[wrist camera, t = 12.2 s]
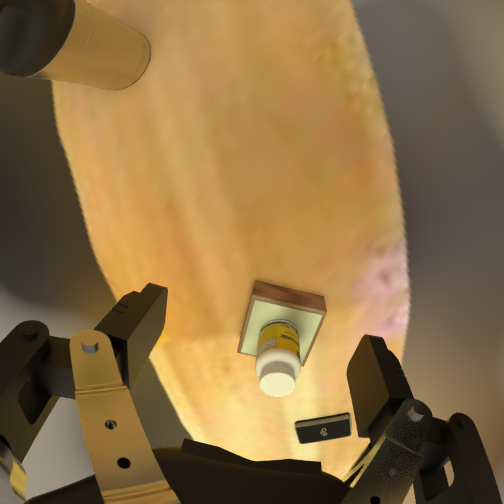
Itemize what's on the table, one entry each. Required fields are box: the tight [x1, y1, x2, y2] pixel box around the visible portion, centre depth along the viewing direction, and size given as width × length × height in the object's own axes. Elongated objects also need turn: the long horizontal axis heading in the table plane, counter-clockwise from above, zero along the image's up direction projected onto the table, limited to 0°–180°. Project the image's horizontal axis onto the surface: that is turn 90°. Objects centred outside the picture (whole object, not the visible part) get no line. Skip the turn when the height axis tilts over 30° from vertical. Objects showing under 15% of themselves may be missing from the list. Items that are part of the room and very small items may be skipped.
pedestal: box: [237, 281, 327, 366], centre depth 42 cm, size 10×10×4 cm
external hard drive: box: [295, 413, 351, 444], centre depth 52 cm, size 7×11×2 cm, turn 105°
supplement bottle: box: [255, 320, 301, 397], centre depth 35 cm, size 5×5×10 cm
